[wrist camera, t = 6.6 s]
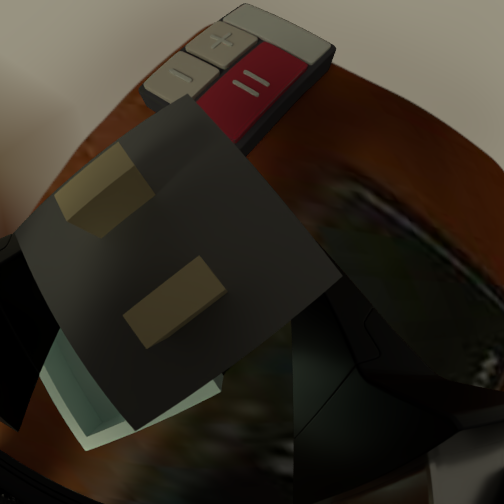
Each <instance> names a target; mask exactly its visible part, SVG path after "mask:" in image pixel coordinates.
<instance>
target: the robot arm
mask: <svg viewBox="0 0 504 504" xmlns="http://www.w3.org/2000/svg"><path fill="white" fill-rule="evenodd" d="M316 242H317V241H316ZM317 243H318V242H317ZM318 245H319V244H318ZM319 246H320V245H319ZM320 247H321V246H320ZM321 249H322V250H323V251H324V252H325V254H326V255H327V256H328V257H329V259H330V260H331V261H332V263H333V264H334V265H335V267H336V268H337V269H338V270H339V272H340V273H341V274H342V277H341V278H340V279H339V280H338V281H337V282H335V283H334V284H333V285H332V286H331V287H330V288H328V289H327V290H326V291H325V292H324V293H323V294H321V295H320V296H319V297H318V298H317V299H316V300H314V301H313V302H312V303H311V304H310V305H308V306H307V307H306V308H305V309H304V310H302V311H301V312H300V313H299V314H298V315H296V316H295V317H294V318H293V319H291V327H292V357H293V405H294V473H293V504H504V392H503V391H497V390H492V389H487V388H482V387H477V386H472V385H467V384H462V383H458V382H453V381H449V380H447V379H444V378H442V377H440V376H439V375H437V374H436V373H435V372H433V371H432V370H431V369H430V368H429V367H428V366H427V365H426V364H425V363H424V362H423V360H422V359H421V358H420V357H419V356H418V355H417V354H416V353H415V352H414V351H413V350H412V349H411V348H410V347H409V346H408V345H407V344H406V343H405V342H404V341H403V340H402V338H401V337H400V336H399V335H398V334H397V333H396V332H395V331H394V330H393V329H392V328H391V327H390V325H389V324H388V323H387V322H386V321H385V320H384V318H383V317H382V316H381V315H380V314H379V313H378V311H377V310H376V309H375V308H373V306H372V304H371V303H370V302H369V301H368V300H367V298H366V297H365V296H364V295H363V294H362V293H361V291H360V290H359V289H358V288H357V287H356V285H355V284H354V283H353V282H352V281H351V280H350V279H349V277H348V276H347V275H346V274H345V273H344V272H343V270H342V269H341V268H340V267H339V266H338V265H337V264H336V263H335V261H334V260H333V259H332V258H331V257H330V256H329V255H328V254H327V252H326V251H325V250H324V249H323V248H322V247H321ZM59 330H60V326H59V324H58V323H57V321H56V319H55V317H54V316H53V314H52V312H51V310H50V308H49V306H48V305H47V303H46V301H45V299H44V297H43V295H42V293H41V291H40V289H39V287H38V285H37V283H36V281H35V279H34V277H33V275H32V272H31V270H30V268H29V266H28V264H27V261H26V259H25V257H24V255H23V252H22V250H21V247H20V245H19V243H18V240H17V238H16V235H15V232H14V233H13V234H10V235H8V236H5V237H3V238H1V239H0V421H1V422H3V423H4V424H6V425H7V426H9V427H10V428H12V429H14V430H15V431H17V432H19V429H20V427H21V424H22V421H23V418H24V415H25V412H26V409H27V406H28V404H29V401H30V398H31V396H32V393H33V390H34V388H35V385H36V383H37V380H38V378H39V375H40V374H39V373H40V372H41V370H42V367H43V365H44V363H45V360H46V358H47V356H48V354H49V351H50V349H51V347H52V345H53V342H54V340H55V338H56V336H57V334H58V332H59ZM2 495H4V497H3V496H2ZM0 504H103V503H101V502H98V501H96V500H93V499H91V498H88V497H86V496H84V495H81V494H79V493H77V492H75V491H72V490H70V489H68V488H66V487H64V486H62V485H60V484H58V483H56V482H54V481H52V480H50V479H48V478H46V477H44V476H42V475H41V474H39V473H37V472H35V471H33V470H32V469H30V468H28V467H27V466H25V465H23V464H22V463H20V462H18V461H17V460H15V459H14V458H12V457H10V456H9V455H7V454H6V453H4V452H3V451H1V450H0Z"/></svg>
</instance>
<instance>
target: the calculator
mask: <svg viewBox="0 0 504 504" xmlns="http://www.w3.org/2000/svg"><path fill="white" fill-rule="evenodd" d="M335 51H336V47H335V46H334V45H332V44H330V43H329V42H327V41H325V40H323V39H322V38H320V37H318V36H316V35H314V34H312V33H311V32H309V31H307V30H305V29H303V28H301V27H299V26H297V25H295V24H293V23H291V22H289V21H287V20H285V19H282V18H280V17H278V16H276V15H274V14H271V13H269V12H267V11H264V10H262V9H260V8H257V7H254V6H252V5H250V4H246V3H245V4H242V5H240V6H239V7H237V8H236V9H235V10H233V11H231V12H230V13H229V14H227V15H226V16H224V17H223V18H221V19H220V20H219V21H217V22H216V23H214V24H213V25H212V26H210V27H209V28H208V29H206V30H205V31H204V32H202V33H201V34H200V35H198V36H197V37H196V38H195V39H193V40H192V41H191V42H190V43H188V44H187V45H186V46H185V47H184V48H182V49H181V50H180V51H179V52H178V53H176V54H175V55H174V56H173V57H172V58H170V59H169V60H168V61H167V62H166V63H165V64H164V65H163V66H161V67H160V68H159V69H158V70H157V71H156V72H155V73H154V74H153V75H152V76H151V77H150V78H148V79H147V80H146V81H145V82H144V83H143V84H142V85H141V86H140V88H139V93H140V95H141V97H142V98H143V100H144V102H145V104H146V106H147V107H149V108H150V109H152V110H153V111H155V112H156V113H157V112H158V111H160V110H161V109H163V108H165V107H166V106H168V105H169V104H171V103H173V102H174V101H176V100H177V99H179V98H181V97H182V96H184V95H186V94H187V93H188V94H189V95H190V96H191V97H192V99H193V100H194V101H195V102H196V103H197V104H198V105H199V106H200V107H201V108H202V109H203V110H204V111H205V112H206V114H207V115H208V116H209V117H210V118H211V119H212V120H213V121H214V122H215V123H216V124H217V126H218V127H219V128H220V129H221V130H222V131H223V132H224V133H225V134H226V135H227V137H228V138H229V139H230V140H231V141H232V142H233V143H234V144H235V146H236V147H237V148H238V149H239V150H240V151H241V152H242V153H243V155H244V156H245V157H246V156H247V155H248V154H249V153H250V152H251V151H252V149H253V148H254V147H255V146H256V145H257V144H258V143H259V142H260V141H261V139H262V138H263V137H264V136H265V135H266V134H267V133H268V132H269V131H270V130H271V128H272V127H273V126H274V125H275V124H276V123H277V122H278V121H279V120H280V118H281V117H282V116H283V115H284V114H285V113H286V112H287V111H288V110H289V109H290V108H291V106H292V105H293V104H294V103H295V102H296V101H297V100H298V99H299V98H300V97H301V96H302V95H303V94H304V93H305V92H306V91H307V90H308V89H310V88H311V87H312V86H313V85H314V84H315V83H316V82H317V81H318V80H319V79H320V78H321V77H322V76H323V75H324V74H325V73H326V72H327V71H328V70H329V67H330V65H331V62H332V59H333V56H334V54H335Z"/></svg>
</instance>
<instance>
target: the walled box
mask: <svg viewBox="0 0 504 504" xmlns="http://www.w3.org/2000/svg"><path fill="white" fill-rule="evenodd" d="M39 374H40V375H39V376H40V378H41V380H42V382H43V384H44V386H45V388H46V389H47V391H48V393H49V395H50V397H51V398H52V400H53V402H54V404H55V405H56V407H57V409H58V410H59V412H60V414H61V415H62V417H63V418H64V420H65V422H66V423H67V425H68V426H69V428H70V429H71V431H72V432H73V434H74V435H75V437H76V438H77V440H78V441H79V443H80V444H81V445H82V447H83V448H84V450H85V451H88V450H90V449H93V448H96V447H99V446H101V445H104V444H107V443H109V442H112V441H114V440H117V439H119V438H122V437H124V436H127V435H129V434H132V433H134V432H137V431H139V430H141V429H144V428H146V427H148V426H151V425H153V424H155V423H157V422H160V421H162V420H164V419H166V418H168V417H171V416H173V415H175V414H177V413H179V412H181V411H183V410H185V409H187V408H190V407H192V406H194V405H196V404H198V403H200V402H202V401H204V400H206V399H208V398H210V397H212V396H213V395H215V394H217V393H219V392H221V388H222V381H223V374H222V373H221V374H220V375H218V376H217V377H216V378H214V379H213V380H212V381H210V382H209V383H207V384H206V385H204V386H203V387H202V388H200V389H199V390H197V391H196V392H194V393H193V394H192V395H190V396H189V397H187V398H186V399H184V400H183V401H181V402H180V403H178V404H177V405H175V406H174V407H172V408H171V409H169V410H168V411H166V412H165V413H163V414H162V415H160V416H159V417H157V418H156V419H154V420H153V421H151V422H149V423H148V424H146V425H145V426H143V427H142V428H140V429H138V430H137V431H134V429H133V428H132V427H131V426H130V425H129V424H128V422H127V421H126V420H125V419H124V418H123V417H122V415H121V414H120V413H119V412H118V410H117V409H116V408H115V407H114V405H113V404H112V403H111V402H110V400H109V399H108V398H107V396H106V395H105V394H104V392H103V391H102V390H101V388H100V387H99V386H98V384H97V383H96V382H95V380H94V379H93V377H92V376H91V375H90V373H89V372H88V370H87V369H86V367H85V366H84V364H83V363H82V361H81V360H80V358H79V357H78V355H77V354H76V352H75V351H74V349H73V348H72V346H71V344H70V343H69V341H68V339H67V338H66V336H65V335H64V333H63V331H62V330H61V328H60V330H59V332H58V334H57V336H56V338H55V340H54V342H53V345H52V347H51V349H50V351H49V354H48V356H47V358H46V360H45V363H44V365H43V367H42V370H41V372H40V373H39Z"/></svg>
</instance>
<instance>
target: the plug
mask: <svg viewBox="0 0 504 504" xmlns="http://www.w3.org/2000/svg"><path fill="white" fill-rule="evenodd" d="M15 235H16V238H17V240H18V243H19V245H20V247H21V250H22V252H23V255H24V257H25V259H26V261H27V264H28V266H29V268H30V270H31V272H32V275H33V277H34V279H35V281H36V283H37V285H38V287H39V289H40V291H41V293H42V295H43V297H44V299H45V301H46V303H47V305H48V306H49V308H50V310H51V312H52V314H53V316H54V317H55V319H56V321H57V323H58V324H59V326H60V328H61V330H62V331H63V333H64V335H65V336H66V338H67V339H68V341H69V343H70V344H71V346H72V348H73V349H74V351H75V352H76V354H77V355H78V357H79V358H80V360H81V361H82V363H83V364H84V366H85V367H86V369H87V370H88V372H89V373H90V375H91V376H92V377H93V379H94V380H95V382H96V383H97V384H98V386H99V387H100V388H101V390H102V391H103V392H104V394H105V395H106V396H107V398H108V399H109V400H110V402H111V403H112V404H113V405H114V407H115V408H116V409H117V410H118V412H119V413H120V414H121V415H122V417H123V418H124V419H125V420H126V421H127V422H128V424H129V425H130V426H131V427H132V428H133V429H134V431H137V430H138V429H140V428H142V427H143V426H145V425H146V424H148V423H149V422H151V421H153V420H154V419H156V418H157V417H159V416H160V415H162V414H163V413H165V412H166V411H168V410H169V409H171V408H172V407H174V406H175V405H177V404H178V403H180V402H181V401H183V400H184V399H186V398H187V397H189V396H190V395H192V394H193V393H194V392H196V391H197V390H199V389H200V388H202V387H203V386H204V385H206V384H207V383H209V382H210V381H212V380H213V379H214V378H216V377H217V376H218V375H220V374H221V373H223V372H224V371H225V370H227V369H228V368H229V367H231V366H232V365H233V364H235V363H236V362H238V361H239V360H240V359H242V358H243V357H244V356H246V355H247V354H248V353H249V352H251V351H252V350H253V349H255V348H256V347H257V346H259V345H260V344H261V343H263V342H264V341H265V340H266V339H268V338H269V337H270V336H271V335H273V334H274V333H275V332H277V331H278V330H279V329H280V328H282V327H283V326H284V325H285V324H287V323H288V322H289V321H290V320H291V319H293V318H294V317H295V316H296V315H298V314H299V313H300V312H301V311H302V310H304V309H305V308H306V307H307V306H308V305H310V304H311V303H312V302H313V301H314V300H316V299H317V298H318V297H319V296H320V295H321V294H323V293H324V292H325V291H326V290H327V289H328V288H330V287H331V286H332V285H333V284H334V283H335V282H337V281H338V280H339V279H340V278H341V277H342V274H341V273H340V272H339V270H338V269H337V268H336V267H335V265H334V264H333V263H332V261H331V260H330V259H329V257H328V256H327V255H326V254H325V252H324V251H323V250H322V249H321V247H320V246H319V245H318V243H317V242H316V241H315V240H314V238H313V237H312V236H311V235H310V233H309V232H308V231H307V230H306V228H305V227H304V226H303V225H302V223H301V222H300V221H299V220H298V219H297V217H296V216H295V215H294V214H293V212H292V211H291V210H290V209H289V208H288V206H287V205H286V204H285V203H284V201H283V200H282V199H281V198H280V197H279V195H278V194H277V193H276V192H275V191H274V190H273V188H272V187H271V186H270V185H269V184H268V182H267V181H266V180H265V179H264V178H263V177H262V175H261V174H260V173H259V172H258V171H257V170H256V168H255V167H254V166H253V165H252V164H251V163H250V161H249V160H248V159H247V158H246V157H245V156H244V155H243V153H242V152H241V151H240V150H239V149H238V148H237V147H236V146H235V144H234V143H233V142H232V141H231V140H230V139H229V138H228V137H227V135H226V134H225V133H224V132H223V131H222V130H221V129H220V128H219V127H218V126H217V124H216V123H215V122H214V121H213V120H212V119H211V118H210V117H209V116H208V115H207V114H206V112H205V111H204V110H203V109H202V108H201V107H200V106H199V105H198V104H197V103H196V102H195V101H194V100H193V99H192V97H191V96H190V95H189V94H188V93H187V94H186V95H184V96H182V97H181V98H179V99H177V100H176V101H174V102H173V103H171V104H169V105H168V106H166V107H165V108H163V109H161V110H160V111H158V112H157V113H155V114H154V115H152V116H151V117H149V118H148V119H146V120H145V121H143V122H142V123H140V124H139V125H137V126H136V127H135V128H133V129H132V130H130V131H129V132H128V133H126V134H125V135H123V136H122V137H121V138H119V139H118V140H117V141H115V142H114V143H113V144H111V145H110V146H109V147H107V148H106V149H105V150H103V151H102V152H101V153H100V154H98V155H97V156H96V157H95V158H93V159H92V160H91V161H90V162H88V163H87V164H86V165H85V166H83V167H82V168H81V169H80V170H79V171H78V172H76V173H75V174H74V175H73V176H72V177H71V178H69V179H68V180H67V181H66V182H65V183H64V184H63V185H62V186H60V187H59V188H58V189H57V190H56V191H55V192H54V193H53V194H52V195H51V196H50V197H48V198H47V199H46V200H45V201H44V202H43V203H42V204H41V205H40V206H39V207H38V208H37V209H36V210H35V211H34V212H33V213H32V214H31V215H30V216H29V217H28V218H27V219H26V220H25V221H24V222H23V223H22V225H21V226H19V228H18V229H17V230H16V231H15Z"/></svg>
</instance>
